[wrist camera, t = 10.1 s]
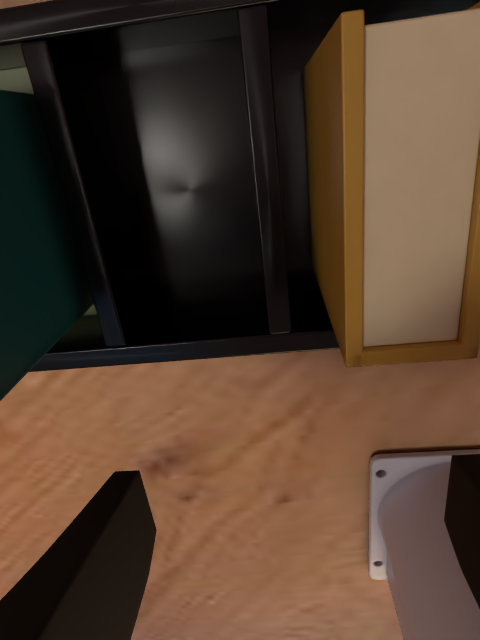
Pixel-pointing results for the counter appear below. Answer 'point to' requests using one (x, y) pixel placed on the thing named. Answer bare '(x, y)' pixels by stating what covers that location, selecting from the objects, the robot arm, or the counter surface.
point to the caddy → (183, 167)
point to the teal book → (33, 245)
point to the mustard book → (397, 185)
